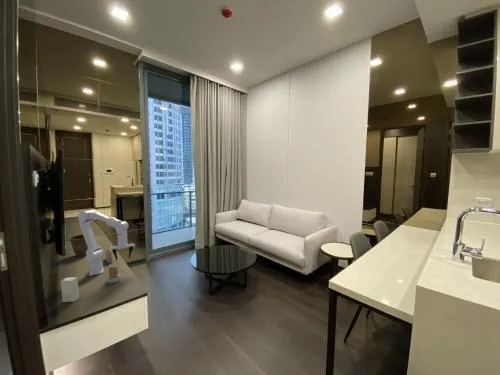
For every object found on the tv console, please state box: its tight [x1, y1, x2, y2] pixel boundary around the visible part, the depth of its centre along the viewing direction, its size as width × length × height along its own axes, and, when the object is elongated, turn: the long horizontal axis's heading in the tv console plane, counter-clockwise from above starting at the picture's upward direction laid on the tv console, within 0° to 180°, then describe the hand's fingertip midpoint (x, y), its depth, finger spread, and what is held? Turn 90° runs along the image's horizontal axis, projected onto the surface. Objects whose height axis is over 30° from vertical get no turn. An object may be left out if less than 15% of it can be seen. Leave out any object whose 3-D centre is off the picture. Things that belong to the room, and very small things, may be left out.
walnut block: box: [108, 266, 119, 279], centre depth 139 cm, size 4×4×6 cm
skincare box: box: [60, 276, 80, 303], centre depth 118 cm, size 6×4×12 cm
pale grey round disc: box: [105, 273, 122, 284], centre depth 140 cm, size 8×8×3 cm
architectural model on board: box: [104, 249, 113, 264], centre depth 171 cm, size 11×3×10 cm, turn 42°
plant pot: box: [69, 233, 88, 257], centre depth 183 cm, size 15×15×16 cm
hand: (123, 258), depth 149 cm, fingers open, 7 cm apart
